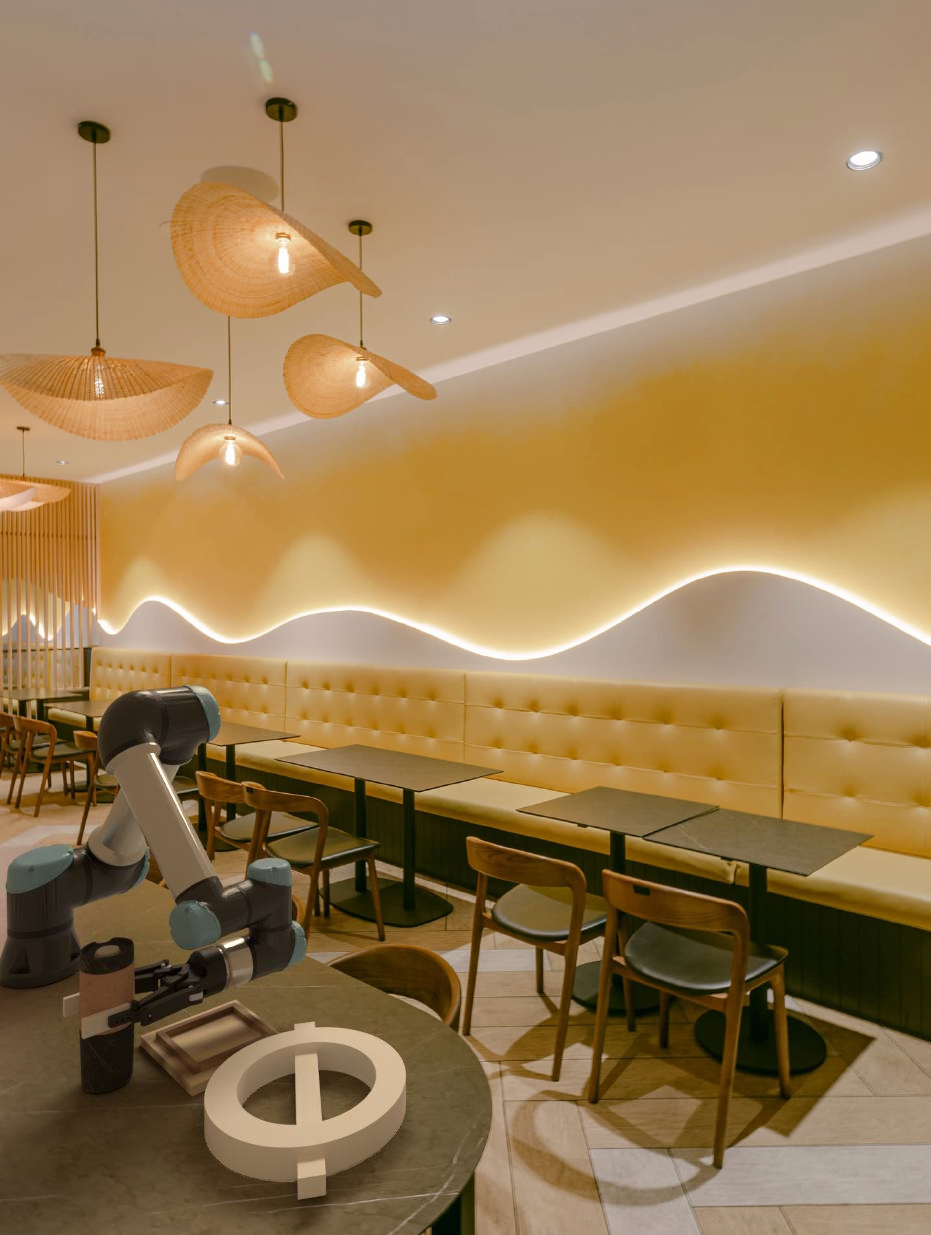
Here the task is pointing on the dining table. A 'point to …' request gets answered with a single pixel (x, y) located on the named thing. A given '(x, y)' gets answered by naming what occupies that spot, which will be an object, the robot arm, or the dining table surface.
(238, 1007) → the board
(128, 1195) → the dining table surface
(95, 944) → the travel mug
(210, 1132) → the ring with crossbar
